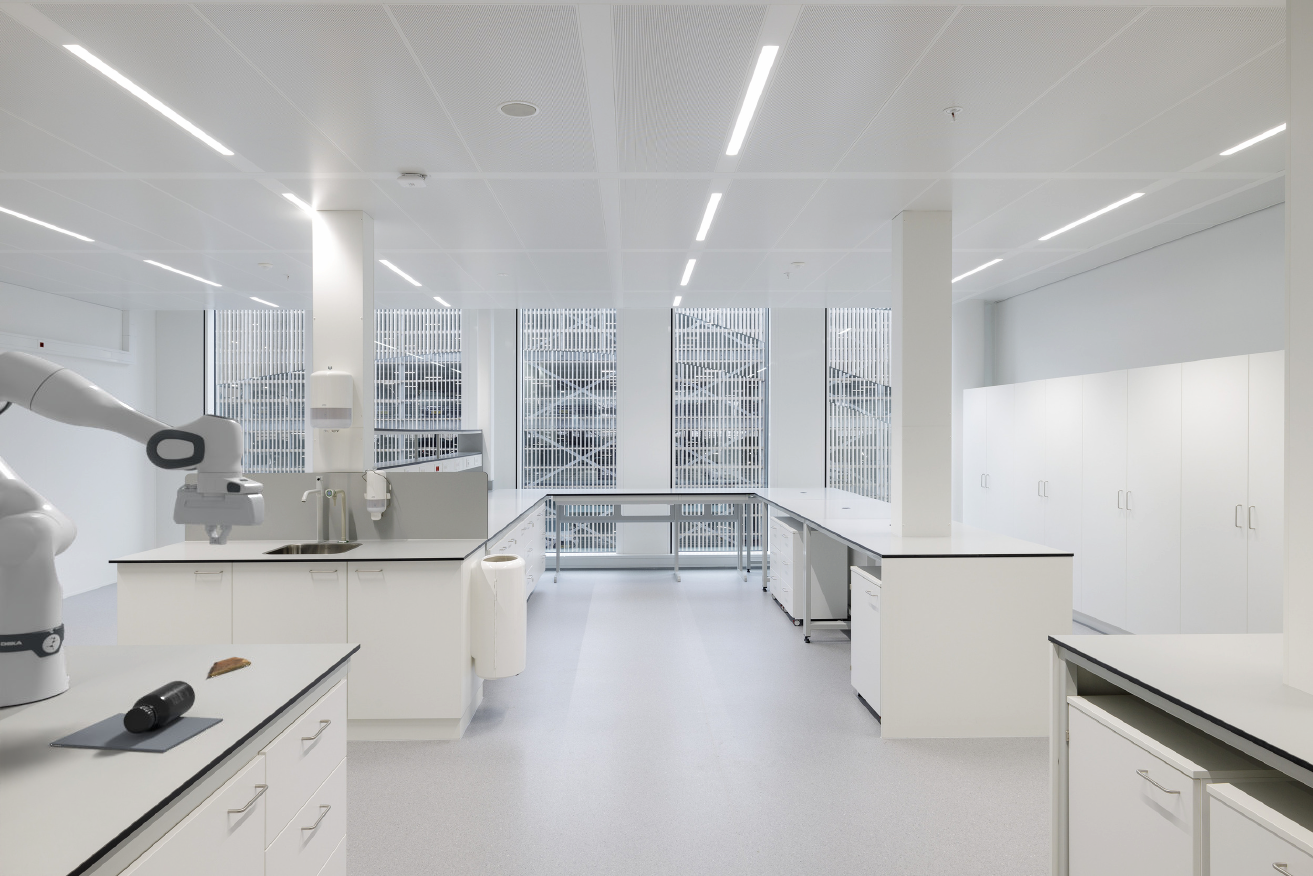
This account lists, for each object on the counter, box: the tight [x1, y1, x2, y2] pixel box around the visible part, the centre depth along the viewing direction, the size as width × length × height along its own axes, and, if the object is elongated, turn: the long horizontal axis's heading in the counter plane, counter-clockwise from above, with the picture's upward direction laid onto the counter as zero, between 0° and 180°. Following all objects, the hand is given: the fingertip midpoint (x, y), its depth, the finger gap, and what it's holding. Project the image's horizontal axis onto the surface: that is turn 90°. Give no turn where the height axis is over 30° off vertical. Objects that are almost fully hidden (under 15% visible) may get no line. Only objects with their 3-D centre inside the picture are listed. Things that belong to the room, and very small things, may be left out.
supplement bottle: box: [123, 680, 196, 734], centre depth 127 cm, size 7×7×12 cm
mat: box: [49, 712, 224, 753], centre depth 125 cm, size 22×14×1 cm, turn 85°
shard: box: [209, 656, 252, 678], centre depth 162 cm, size 11×8×2 cm
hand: (218, 544), depth 155 cm, fingers closed
